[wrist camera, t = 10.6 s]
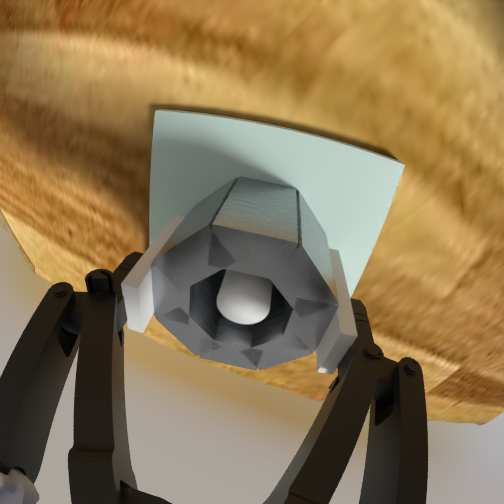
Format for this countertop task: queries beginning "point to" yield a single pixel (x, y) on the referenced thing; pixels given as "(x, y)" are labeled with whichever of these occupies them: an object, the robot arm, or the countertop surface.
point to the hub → (250, 262)
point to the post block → (274, 171)
